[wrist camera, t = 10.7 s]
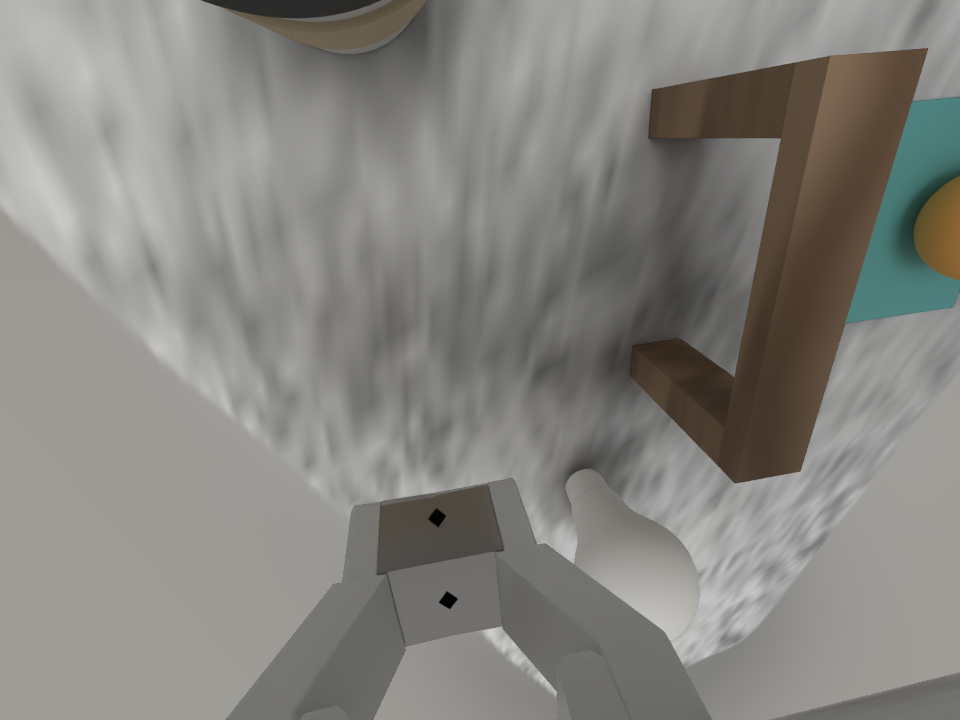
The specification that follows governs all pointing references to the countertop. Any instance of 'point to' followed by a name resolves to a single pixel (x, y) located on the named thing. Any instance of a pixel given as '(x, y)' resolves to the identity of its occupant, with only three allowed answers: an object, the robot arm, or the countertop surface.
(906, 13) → the countertop surface
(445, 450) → the countertop surface
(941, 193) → the ball
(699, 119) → the bridge
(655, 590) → the lightbulb
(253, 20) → the coffee cup
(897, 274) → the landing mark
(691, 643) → the countertop surface
